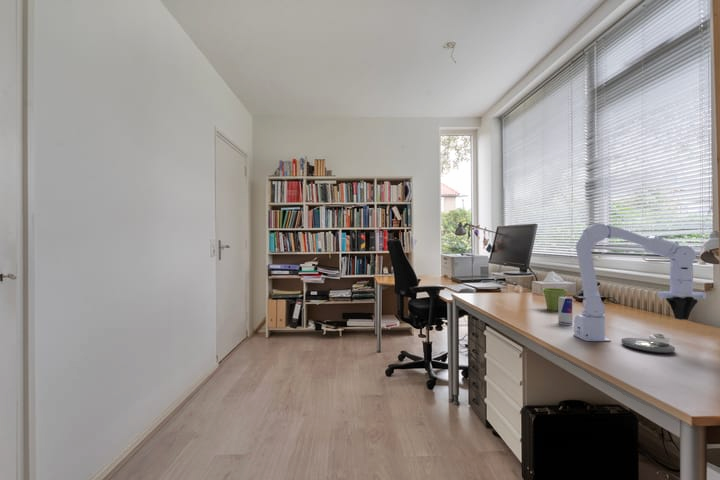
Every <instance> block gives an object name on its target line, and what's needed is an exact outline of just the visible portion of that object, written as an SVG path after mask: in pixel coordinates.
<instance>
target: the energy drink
mask: <svg viewBox="0 0 720 480" xmlns="http://www.w3.org/2000/svg"><path fill="white" fill-rule="evenodd" d="M557 311H558V312H557V313H558V315H557V318H558V319H557V321H558V322H557V323H558V324H559V325H563V326H572V325H573V298H572V297H571V296H565V297H559V299H558V310H557Z"/></svg>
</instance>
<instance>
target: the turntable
mask: <svg viewBox="0 0 720 480" xmlns="http://www.w3.org/2000/svg"><path fill="white" fill-rule="evenodd" d="M620 342H621V344H622V345H624V346H627V347H629V348H631V349H634V350H637V351H641V352H646V353H653V354H669V353H675V351H676V347H675V346H673V345H672V344H669V346H658V345H654V344H651V343H649V338H648V339H647V338H640V337H624V338H622V339H621V341H620Z"/></svg>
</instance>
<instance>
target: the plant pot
mask: <svg viewBox="0 0 720 480" xmlns="http://www.w3.org/2000/svg"><path fill="white" fill-rule="evenodd" d="M542 290H543V294H544V299H545V304H546V309H547V310H549V311H552V312H555V311H558V299H559V297H566V294H567V292H568V289H564V288H555V287H543V288H542Z"/></svg>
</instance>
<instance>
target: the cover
mask: <svg viewBox="0 0 720 480" xmlns="http://www.w3.org/2000/svg"><path fill="white" fill-rule="evenodd" d="M648 339H649V343H651V344H654V345H658V346H669V345H670V337H667V336H665V335H664V334H661V333H653V334H649V335H648Z"/></svg>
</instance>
